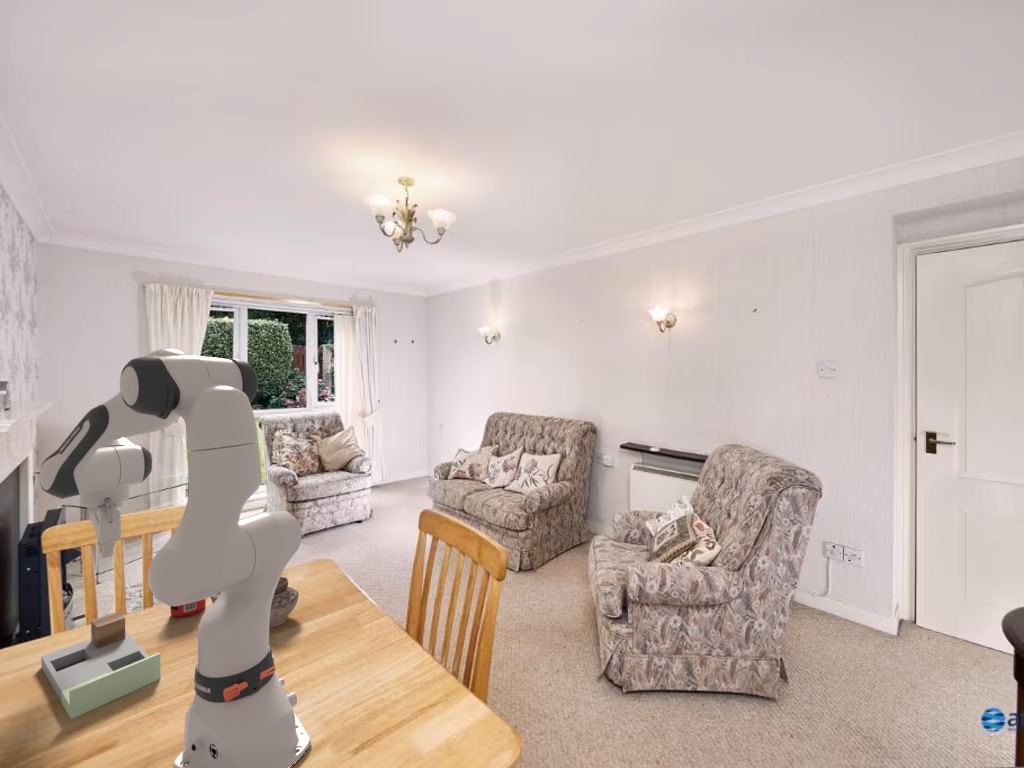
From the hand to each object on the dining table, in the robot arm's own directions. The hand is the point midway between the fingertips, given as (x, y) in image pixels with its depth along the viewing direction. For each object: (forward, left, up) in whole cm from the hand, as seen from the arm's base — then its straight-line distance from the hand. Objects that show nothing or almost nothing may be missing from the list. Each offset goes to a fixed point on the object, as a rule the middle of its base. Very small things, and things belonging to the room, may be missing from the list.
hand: (105, 550), depth 109 cm
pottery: (-18, -26, -23) cm, 39 cm away
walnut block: (-5, +1, -20) cm, 21 cm away
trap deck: (-14, +4, -23) cm, 27 cm away
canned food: (0, -17, -23) cm, 29 cm away
